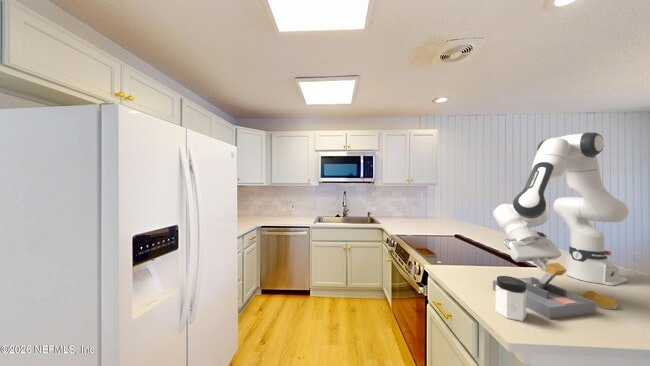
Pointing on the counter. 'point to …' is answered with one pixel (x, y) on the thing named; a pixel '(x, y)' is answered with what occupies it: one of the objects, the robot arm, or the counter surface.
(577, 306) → the switch panel
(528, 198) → the robot arm
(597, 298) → the bread roll
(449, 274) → the counter surface
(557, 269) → the breaker lever
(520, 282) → the jar
